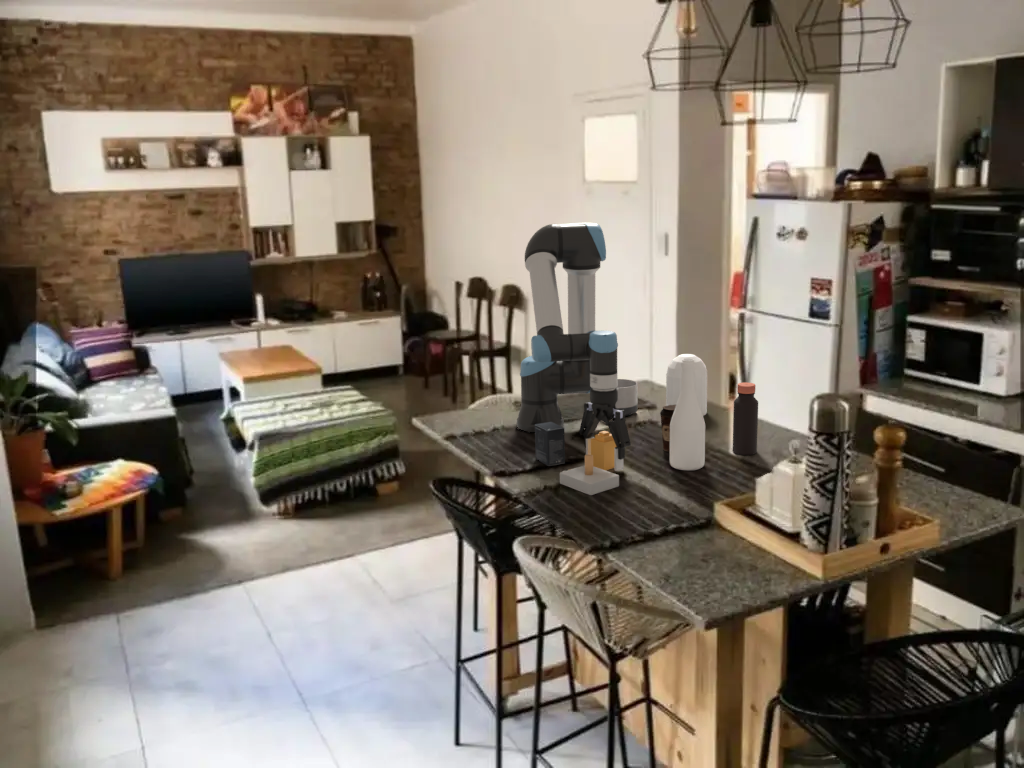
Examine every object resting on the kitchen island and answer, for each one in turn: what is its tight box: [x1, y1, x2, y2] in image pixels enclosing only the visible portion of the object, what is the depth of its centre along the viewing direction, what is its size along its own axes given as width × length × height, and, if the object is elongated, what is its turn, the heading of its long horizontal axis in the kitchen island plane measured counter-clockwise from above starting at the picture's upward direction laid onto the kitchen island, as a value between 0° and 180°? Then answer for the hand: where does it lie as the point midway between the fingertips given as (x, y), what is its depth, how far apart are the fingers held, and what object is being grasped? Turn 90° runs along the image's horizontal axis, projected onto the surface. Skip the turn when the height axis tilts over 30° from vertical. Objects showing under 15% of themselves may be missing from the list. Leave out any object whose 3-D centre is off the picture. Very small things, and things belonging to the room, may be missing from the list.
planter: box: [615, 378, 639, 417], centre depth 303 cm, size 13×13×10 cm
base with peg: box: [559, 454, 620, 496], centre depth 238 cm, size 15×10×8 cm, turn 37°
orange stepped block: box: [591, 430, 617, 471], centre depth 250 cm, size 5×5×10 cm
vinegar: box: [732, 381, 759, 456], centre depth 257 cm, size 7×7×20 cm
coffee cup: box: [659, 405, 676, 453], centre depth 262 cm, size 9×8×13 cm
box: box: [534, 422, 566, 467], centre depth 256 cm, size 8×6×11 cm
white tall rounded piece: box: [669, 359, 706, 471], centre depth 246 cm, size 10×10×30 cm
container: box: [665, 353, 708, 417], centre depth 300 cm, size 14×13×20 cm
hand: (604, 464), depth 251 cm, fingers open, 11 cm apart
